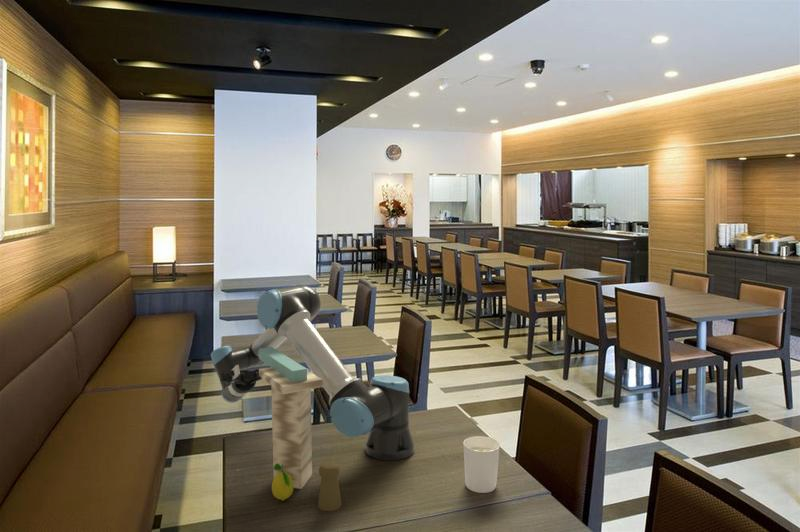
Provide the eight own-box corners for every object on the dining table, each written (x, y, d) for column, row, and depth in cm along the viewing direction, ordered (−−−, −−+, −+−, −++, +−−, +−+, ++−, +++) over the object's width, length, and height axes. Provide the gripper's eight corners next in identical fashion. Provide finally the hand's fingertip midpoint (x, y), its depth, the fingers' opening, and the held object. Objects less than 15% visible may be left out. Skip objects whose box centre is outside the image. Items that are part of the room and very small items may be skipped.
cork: (343, 499, 147) (343, 458, 146) (338, 511, 141) (338, 470, 140) (320, 497, 148) (320, 457, 146) (315, 510, 142) (314, 468, 140)
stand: (298, 460, 168) (296, 362, 165) (324, 486, 153) (323, 379, 150) (261, 470, 162) (258, 369, 159) (284, 498, 147) (282, 387, 144)
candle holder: (501, 480, 157) (502, 438, 156) (495, 497, 148) (496, 453, 147) (466, 474, 160) (467, 433, 159) (458, 491, 151) (459, 448, 150)
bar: (258, 358, 169) (258, 348, 168) (271, 356, 171) (271, 346, 171) (292, 382, 147) (292, 371, 147) (307, 379, 149) (306, 368, 149)
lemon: (274, 493, 150) (273, 457, 149) (296, 493, 150) (295, 457, 148) (267, 506, 143) (266, 469, 142) (290, 507, 143) (289, 469, 142)
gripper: (279, 387, 197) (300, 370, 180) (206, 400, 183) (221, 384, 167) (275, 366, 199) (295, 348, 182) (202, 378, 185) (216, 360, 169)
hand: (260, 365), depth 174 cm, fingers open, 13 cm apart
